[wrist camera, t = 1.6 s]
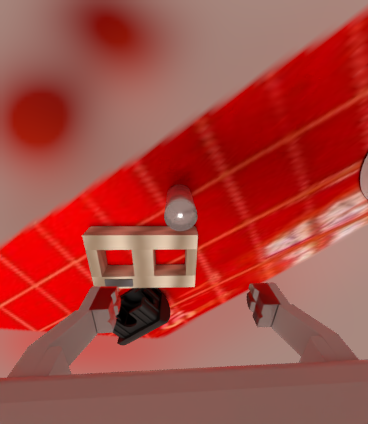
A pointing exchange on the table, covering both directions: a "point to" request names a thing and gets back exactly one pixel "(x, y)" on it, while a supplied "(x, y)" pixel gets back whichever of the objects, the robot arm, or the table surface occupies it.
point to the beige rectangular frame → (140, 256)
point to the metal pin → (180, 208)
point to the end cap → (140, 313)
